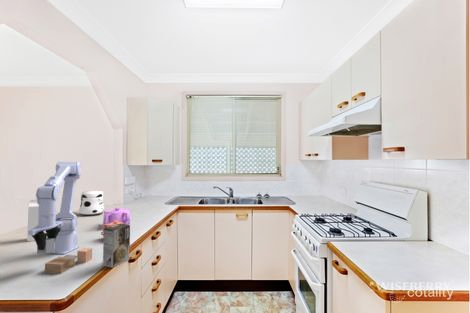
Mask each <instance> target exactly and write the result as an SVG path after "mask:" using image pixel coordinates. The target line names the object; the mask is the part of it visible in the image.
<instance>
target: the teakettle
mask: <svg viewBox="0 0 470 313" xmlns="http://www.w3.org/2000/svg"><path fill="white" fill-rule="evenodd" d="M130 212H131V209H129V208H128V209H127V208H126V209H125V208H120V207H117V206H116V207H115V208H114V209H110V210H105V211H103V221H102V226H103V225H104V224H110V223H113V221H118V222H122V223H123V224H126V225H131V213H130ZM106 227H107V225H105V226H104V228H106Z"/></svg>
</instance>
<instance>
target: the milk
mask: <svg viewBox="0 0 470 313" xmlns="http://www.w3.org/2000/svg"><path fill="white" fill-rule="evenodd" d="M27 209H28V211H27V212H28V213H27V231H28V230H31V229H33V228H35V227H36V226H37V225H38V213H39V205H38V204H37V199H30V200H29V205H28V208H27ZM26 238H27V241H26V242H36V241H35V240H34V238H33V237H32V236H31V235H28V234H27V237H26Z"/></svg>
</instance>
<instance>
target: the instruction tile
mask: <svg viewBox="0 0 470 313" xmlns="http://www.w3.org/2000/svg"><path fill="white" fill-rule="evenodd" d="M63 257H73V258H75V259H77V254H76V255H74V254H66V255H64V256H63Z"/></svg>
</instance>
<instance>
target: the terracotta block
mask: <svg viewBox="0 0 470 313" xmlns="http://www.w3.org/2000/svg"><path fill="white" fill-rule="evenodd" d="M76 256H77V258H76V260H77V261H76V263H80V264H81V263H82V264H86V263H88V262H89V261H91V260H93V248H91V247H83V248H81V249H79V250H77V253H76Z"/></svg>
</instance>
